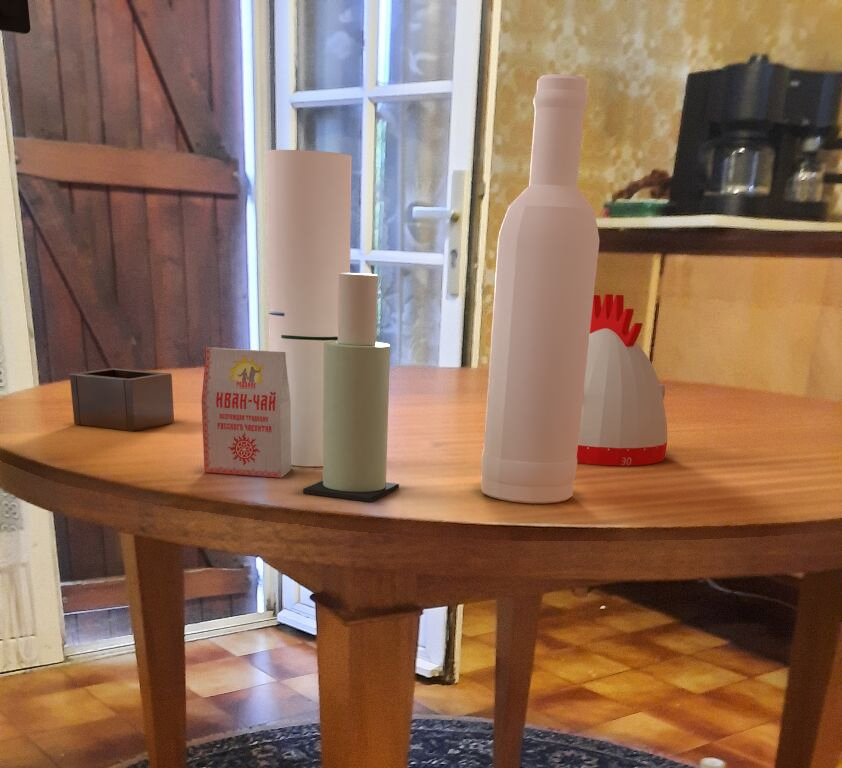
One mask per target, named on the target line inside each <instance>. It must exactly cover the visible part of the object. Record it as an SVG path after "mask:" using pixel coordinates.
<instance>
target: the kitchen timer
mask: <svg viewBox="0 0 842 768" xmlns="http://www.w3.org/2000/svg"><path fill="white" fill-rule="evenodd" d="M624 305H625V296H624V295H623V294H615V296H614V294H612V293H606V294H604V297H603V300H602V299H601V295H600V294H594V297H593V307H592V316H591V326H590V335H589V345H588V354H587V364H586V373H585V383H584V392H583V402H582V411H581V421H580V430H579V439H578V449H577V464H585V465H596V466H615V467H617V466H618V467H619V466H620V467H621V466H623V467H629V466H630V467H631V466H644V465H645V466H646V465H654V464H658V463H661V462H663V461H664V460H665V459H666V453H667V445H668V423H667V415H666V407H665V402H664V401H665V397H666V387H665V385H664V384H661V383H660V381H659V378H658V375H657V373H656V370H655V369H654V368H655V367H654V366H653V364H652V362H651V360H650V358H649V357H648V356H647V353H646V352H645V351H644V349H643V348H642V347H641V346H640V345H639V344H638V343H637V340H638V338H639V335H640V333H641V330H642V327H643V322H634V323H633V325H632V326H631V322H632V320H633V315H634V313H635V312H634V311H635V309H634V308H625V309H624V307H625V306H624ZM630 327H631V328H630Z"/></svg>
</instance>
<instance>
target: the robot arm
mask: <svg viewBox="0 0 842 768" xmlns="http://www.w3.org/2000/svg"><path fill="white" fill-rule="evenodd" d="M29 7H30V6H29V0H0V32H5V33H12V34H19V35H26V34H29V33H30V32H31V19H30V17H31V16H30V10H29Z"/></svg>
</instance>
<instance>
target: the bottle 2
mask: <svg viewBox="0 0 842 768" xmlns="http://www.w3.org/2000/svg"><path fill="white" fill-rule="evenodd" d="M587 88H588V81H587V80H586V78H585V77H583V76H580V75H574V74H566V73H565V74H560V73H559V74H558V73H554V74H553V73H552V74H550V73H549V74H544V75H541V76H540V77H539V78H538V79H537V81H536V92H535V94H534V95H533V96H534V97H533V107H534V116H533V117H534V118H533V132H532V141H531V142H532V145H531V155H530V156H531V157H530V169H529V170H530V171H529V182H528V183H529V184H528V186H527V187H526V188H524V189H523V191H522V192H521V193H520V194H519V195H518V196H517V197H516V198H515V199H514V200H513V201H512V202H511V203H510V204H509V205H508V208H507V210H506V212H505V216H504V218H503V221H502V224H501V227H500V230H499V232H498V236H497V248H496V249H497V250H496V264H495V276H494V278H495V279H494V294H493V306H492V307H493V308H492V309H493V310H492V323H491V336H490V338H491V339H490V351H489V352H490V353H489V367H488V382H487V393H486V395H487V396H486V409H485V410H486V411H485V424H484V426H485V427H484V440H483V450H482V453H481V464H480V466H481V467H480V473H481V482H480V483H481V484H480V491H481V492H482V493H483V494H484V495H485V496H487V497H489V498H492V499H496V500H500V501H505V502H512V503H521V504H555V503H561V502H565V501H567V500H569V499H570V498H571V497H573V496H574V485H575V481H576V477H577V471H578V469H577V468H578V463H577V449H578V439H579V430H580V421H581V411H582V402H583V392H584V383H585V373H586V364H587V354H588V345H589V335H590V326H591V316H592V307H593V297H594V295H595V289H596V288H595V287H596V278H597V269H598V259H599V250H600V241H601V240H600V235H599V229H598V223H597V218H596V214H595V210H594V208H593V206H591V205H592V204H590V203H589V201H588V199H586V196H584V195H583V193H582V191H581V190H580V189H579V188H578V180H579V170H580V161H581V148H582V141H583V140H582V139H583V130H584V129H583V128H584V117H585V110H586V108H587V106H588V96H587Z"/></svg>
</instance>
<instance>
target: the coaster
mask: <svg viewBox="0 0 842 768" xmlns="http://www.w3.org/2000/svg"><path fill="white" fill-rule="evenodd" d="M399 489H400V484H399V483H396V482H387V481H386V487H385V488H384V489H382V490H378V491H371V492H346V491H338V490H333V489H329V488H327V487H325V486H324V485H323V480H321V481H318V482H315V483H314V484H311V485H308V486H306V487H304V488H302V493H303V494H304V495H313V496H320V497H328V498H329V497H330V498H334V499H335V498H336V499H343V500H352V501H359V502H366V503H373V502H374V501H376V500H379V499H380V498H383V497H384V496H386V495H389V494H391V493H393V492H394V491H397V490H399Z"/></svg>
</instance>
